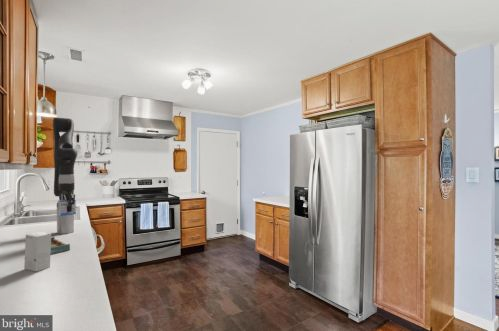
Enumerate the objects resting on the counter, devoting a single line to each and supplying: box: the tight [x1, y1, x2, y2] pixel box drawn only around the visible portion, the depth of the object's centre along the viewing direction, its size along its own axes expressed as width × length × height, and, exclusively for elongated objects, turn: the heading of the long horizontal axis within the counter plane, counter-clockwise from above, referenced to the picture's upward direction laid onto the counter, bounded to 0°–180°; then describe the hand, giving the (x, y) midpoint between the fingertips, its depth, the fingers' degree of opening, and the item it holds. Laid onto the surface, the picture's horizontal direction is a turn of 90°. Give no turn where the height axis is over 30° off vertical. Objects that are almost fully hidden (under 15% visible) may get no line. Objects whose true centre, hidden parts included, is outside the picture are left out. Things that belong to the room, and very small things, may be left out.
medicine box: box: [57, 199, 77, 216], centre depth 155 cm, size 8×4×9 cm, turn 139°
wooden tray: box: [50, 236, 71, 255], centre depth 142 cm, size 24×9×3 cm, turn 53°
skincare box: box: [23, 231, 52, 272], centre depth 114 cm, size 8×6×15 cm
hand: (66, 211), depth 155 cm, fingers closed on medicine box, 5 cm apart
